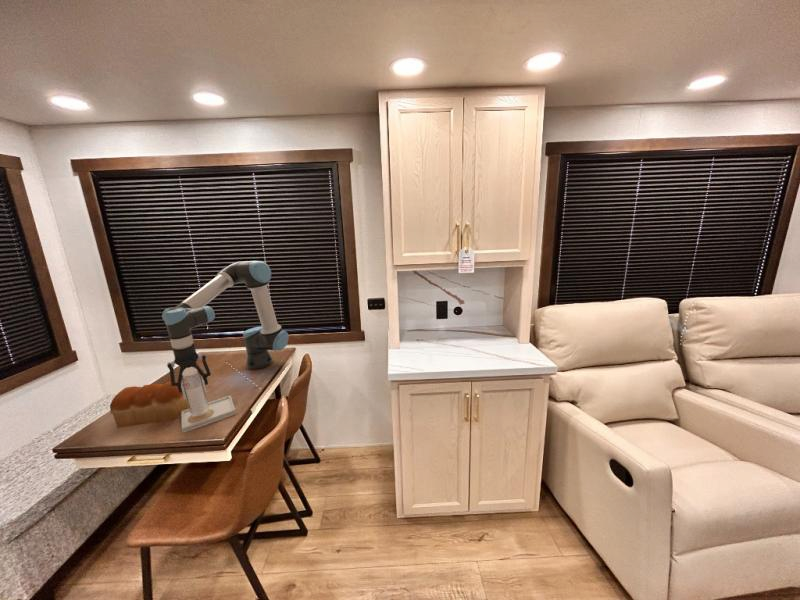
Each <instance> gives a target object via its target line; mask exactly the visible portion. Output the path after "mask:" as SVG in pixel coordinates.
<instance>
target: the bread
mask: <svg viewBox="0 0 800 600" xmlns="http://www.w3.org/2000/svg"><path fill="white" fill-rule="evenodd" d="M177 381H178V380H175V382H177ZM181 383H183V381H181ZM188 408H189V405H188V402H187V399H184V396H183V392H181V393H180V392H179V390H178V386H172V385H171V380H170V381H166V382H164V383H163V384H162V383H151V384H150V383H149V384H144V385H143V386H135V385H134V386H128V387H127V386H126V387H124V388H123V389H122V390H120V391H119V392H118V393H117V394H116V395H115V396H114V397H113V398H112V400H111V403H110V404H109V409H110V414H111V415H112V416H113V419H114V421H115V424H116V428H124V427H130V426H138V425H142V424H144V425H145V424H150V423H157V422H162V421H168V420H176V419H179V418H181V416H182V415H181V411H184V410H187V409H188Z"/></svg>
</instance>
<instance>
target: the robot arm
mask: <svg viewBox="0 0 800 600" xmlns="http://www.w3.org/2000/svg"><path fill="white" fill-rule="evenodd" d="M271 277H272V270H271V268H270V266H269V265H268V264H267V263H266V262H264V261H261V260H249V261H248V260H246V261H236V262H234V263H231V264H230V265H228V266H226V267H224V268H222V269H221V270H220V271H218V272H217V274H216V276H215V277H214V278H213V279H211V280H210V281H208V282H207V283H206V284H204V285H203V286H202V287H201V288H199V289H198V290H197V291H195V292H193V293H192V294H191V295H189V297H187V298H186V299H184V300H183V301H182V302H180V303H179V304H177V305H175V307H168V308H165V309H164V310H163V312H162V314H161V318H162V320H163V322H164V324H165V325H166V330H167V333H168V337H169V340H170V341H169V342H170V344H171V348H172V353H173V355H174V361H170V362H167V365H166V366H167V368H168V369H169V375H170V381H171V385H172V386H178V390H179V392H180V393H181V392H183V396H184V399H187V398H186V394H185V390H184V385H183V383H181V382H183V381H182V377H181V372H182V371H183V370H184V367H186V366H188V365H193V367H197V368H198V369H199V373H200V376H201V380H202V383H203V387H204V391H205V394H208V391H207V388H206V386H208V384H209V382H208V377H210V376H211V374H212V373H211V370H210V368H209V365H208V362H207V360H206V357H207V356H206V354H205V353H203V354H198V353H197V351H196V347H195V344H194V338H193V334H192V333H193V332H192V329H194V328H197V327H200V326H203V325H206V324H209V323H211V322H212V321H214V320H215V317H216V314H215V310H214V309H213V308H212V307H211V306H210V305H208V304H209V303H210V302H211V301H213V300H214V299H215V298H216V297H217V296H219V295H220V294H222V292H224V291H225V290H226V289H228V288H232V287H234V285H237V284H241V283H243V284H245V286H246V289H248V290H250V291H251V295H252V299H253V302H254V306H255V309H256V312H257V315H258V319H259V322H260V324H261V325H260V326H256V327H252V328H248V329H246V330H245V331H244V332H243V334H242V336H243V342H244V346H245V350H246V361H245V365H246V369H248V370H260V369H263V368H267V367H268V366H271V365H272V364H273V363H274V360H273V357H272V355H271V353H270V352H269V351H275V352H276V351H282V350H284V349H285V348H286V347H287V344H288V342H289V333H288V331H285V330H283V328H282V325H281V324H279V323H278V321H277V317H276V312H275V309H274V307H273V302H272V299H271V296H270V291H269V288H268V286H269V284H270V282H269V281H270V280H271ZM198 359H199V360H200V361H202V364H203V367H204V370H205V372H206V373H205V372H204V370H203V369H202V368H201V367H200V366H199V364H198V363H197V361H198ZM175 364H176V365H177V366H179V371H178V376H177V380H176V378H175V370H174V369H175ZM175 381H177V382H175Z"/></svg>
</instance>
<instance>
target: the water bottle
mask: <svg viewBox="0 0 800 600" xmlns="http://www.w3.org/2000/svg"><path fill="white" fill-rule="evenodd" d="M181 377H182V381H181V382H183V385H184V390H185V394H186V398H187V402H188V405H189V406H188V409H190V413H191V415H192V416H193V417H198V416H201V415H204V414H205V413H207V412H208V410H209V407H208V402H209V401H208V399H207V395H206V393H205V391H204V387H203V383H202V379H201V378H202V376H201V375H200V373H199V369H198V368H197V367H193V365H188V366H186V367H184V370H183V371H182V372H181Z"/></svg>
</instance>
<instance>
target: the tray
mask: <svg viewBox="0 0 800 600" xmlns="http://www.w3.org/2000/svg"><path fill="white" fill-rule="evenodd" d="M207 402H208V407H209V410H208V412H207V413H205V414H204V415H201V416H198V417H193V416H192V415H191V413H190V409H189V408H186V410H184V411H181V415H180V416H181V432H182V434H184V433H187V432H190V431H192V430H194V429H195V430H196V429H198V428H200V427H204V426H206V425H210V424H211V423H214V422H218V421H221V420H223V419H225V418H228V417H232V416H233V415H237V412H236V408H235V405H234V401H233V398H232V396H231V395H227V396H224V397H220V398H219V399H215V400H212V401H207Z"/></svg>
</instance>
